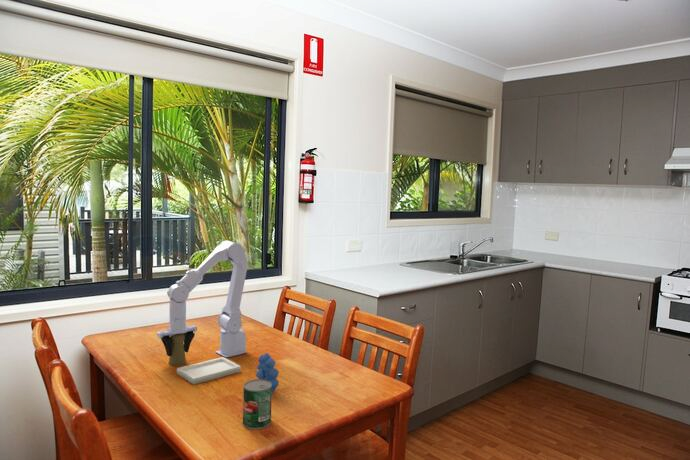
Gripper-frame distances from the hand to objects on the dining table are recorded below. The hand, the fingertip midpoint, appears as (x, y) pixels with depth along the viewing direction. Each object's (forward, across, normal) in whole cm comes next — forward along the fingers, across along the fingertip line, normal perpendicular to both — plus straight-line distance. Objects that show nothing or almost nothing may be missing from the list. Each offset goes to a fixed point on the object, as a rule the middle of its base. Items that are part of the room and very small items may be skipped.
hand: (177, 353), depth 181 cm
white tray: (+3, -4, +16) cm, 17 cm away
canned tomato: (+4, +4, +57) cm, 57 cm away
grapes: (+4, -10, +41) cm, 42 cm away
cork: (+4, 0, 0) cm, 4 cm away
